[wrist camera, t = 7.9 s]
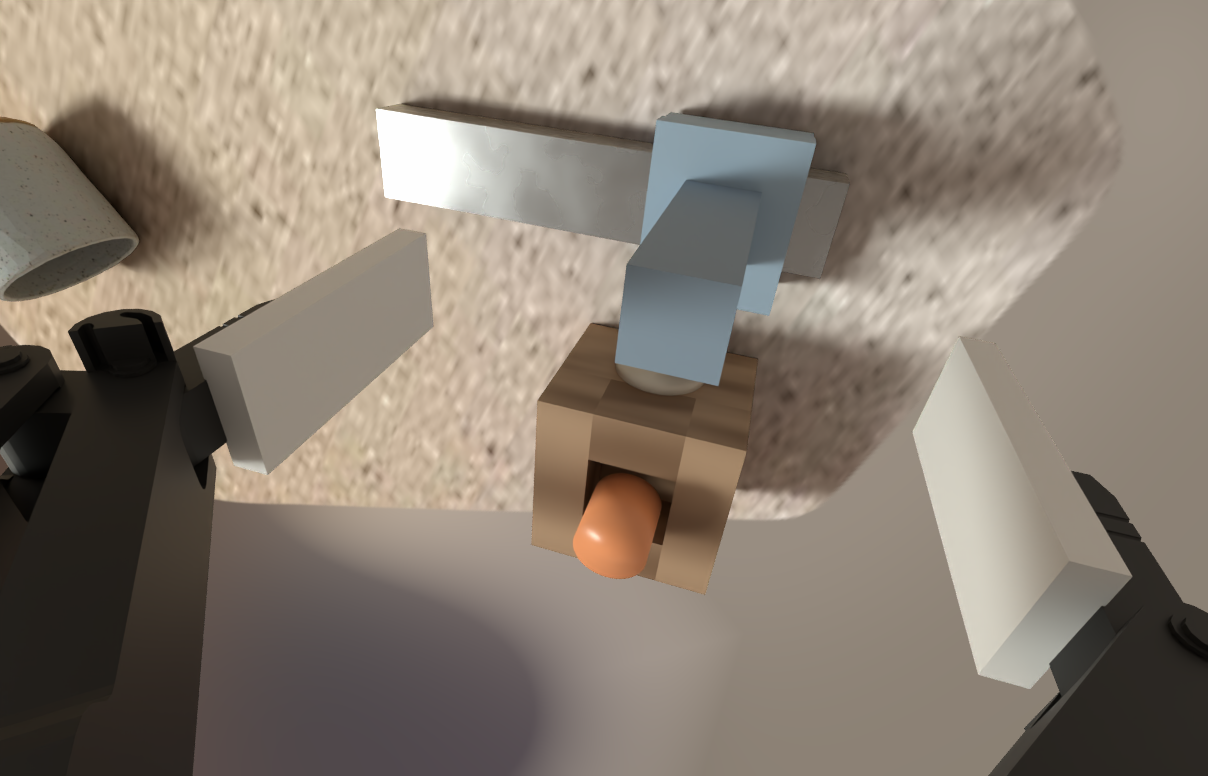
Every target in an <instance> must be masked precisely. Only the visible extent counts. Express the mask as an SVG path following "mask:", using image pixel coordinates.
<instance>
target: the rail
mask: <svg viewBox="0 0 1208 776" xmlns="http://www.w3.org/2000/svg"><path fill="white" fill-rule="evenodd" d="M376 114H377V124H378V133H379V143H380V153H381V162H382V172H383V181H384V191H385V197H387V198H393V199H398V200H403V201H409V202H414V203H419V204H425V205H430V206H435V207H441V208H446V209H451V210H457V211H462V212H467V213H473V214H478V215H483V216H489V217H494V218H499V219H505V220H510V221H515V222H521V223H526V224H531V225H537V226H542V227H547V228H553V229H558V230H563V231H569V232H574V233H579V234H585V235H590V236H595V237H601V238H606V239H611V240H617V241H622V242H627V243H633V244H638V245H640V241H641V234H642V226H643V219H644V211H645V204H646V196H647V189H648V181H649V174H650V166H651V159H652V151H653V144H654V143H647V142H641V141H635V140H628V139H622V138H615V137H609V136H603V135H596V134H590V133H583V132H577V131H571V130H564V129H558V128H551V127H545V126H539V125H532V124H526V123H519V122H513V121H507V120H500V119H494V118H487V117H481V116H475V115H468V114H462V113H455V112H449V111H443V110H436V109H430V108H423V107H417V106H411V105H404V104H397V105H392V106H387V107H382V108H378V109H376ZM849 185H850V183H849V180H848V177H847V174H846V173H839V172H833V171H827V170H820V169H814V168H810V169H809V172H808V176H807V180H806V183H805V187H804V191H803V194H802V198H801V202H800V205H799V209H798V213H797V216H796V220H795V223H794V227H793V231H792V234H791V238H790V242H789V245H788V249H787V253H786V256H785V260H784V264H783V267H782V272H787V273H793V274H798V275H803V276H809V277H814V278H819V279H820V278H821V274H822V271H823V268H824V265H825V262H826V258H827V255H828V252H829V249H830V246H831V242H832V239H833V236H834V233H835V230H836V227H837V223H838V220H839V217H840V214H841V211H842V207H843V204H844V201H845V198H846V195H847V192H848V188H849Z"/></svg>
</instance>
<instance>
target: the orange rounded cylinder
mask: <svg viewBox="0 0 1208 776" xmlns="http://www.w3.org/2000/svg"><path fill="white" fill-rule="evenodd" d="M661 508H662V504H661V499H660V496H659V494H658V493H657V491H656V490H655V489H654V487H653V486H652V485H650V484H649V483H648V482H647V481H645V480H643V479H642V478H640V477H637V476H634V475H631V474H625V473H616V474H611V475H608V476H606V477H604V478H602V479H601V480H600V481H599V482H598V483H597V485H596V487H595V489H594V492H593V494H592V496H591V499H590V501H589V503H588V505H587V508H586V510H585V512H584V515H583V517H582V519H581V522H580V524H579V526H578V528H577V531H576V533H575V535H574V538H573V548H574V551H575V554H576V556H577V557H578V559H579V560H580V561H581V562H582V563H583V564H584V565H585V566H586V567H587V568H589V569H590V570H592V571H593V572H595V573H597V574H600V575H602V576H605V577H609V578H614V579H626V578H630V577H633V576H636V575H637V574H639V573H640V572H641V571H642V570H643V569H644V567H645V566H646V562H647V559H648V555H649V552H650V548H651V545H652V541H653V537H654V534H655V530H656V527H657V523H658V520H659V516H660V512H661Z"/></svg>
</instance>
